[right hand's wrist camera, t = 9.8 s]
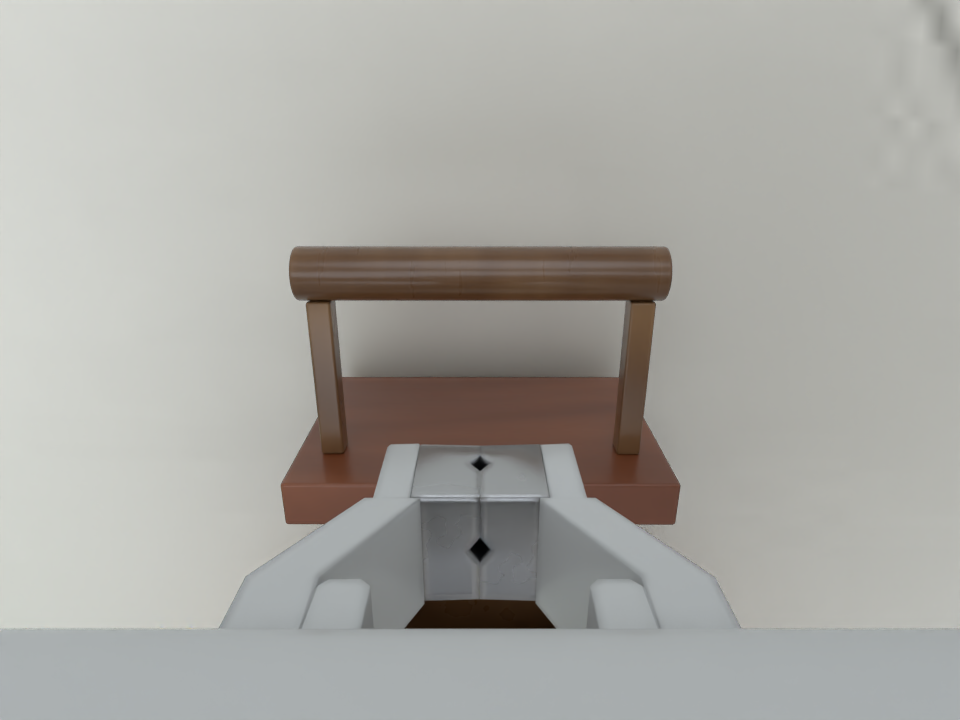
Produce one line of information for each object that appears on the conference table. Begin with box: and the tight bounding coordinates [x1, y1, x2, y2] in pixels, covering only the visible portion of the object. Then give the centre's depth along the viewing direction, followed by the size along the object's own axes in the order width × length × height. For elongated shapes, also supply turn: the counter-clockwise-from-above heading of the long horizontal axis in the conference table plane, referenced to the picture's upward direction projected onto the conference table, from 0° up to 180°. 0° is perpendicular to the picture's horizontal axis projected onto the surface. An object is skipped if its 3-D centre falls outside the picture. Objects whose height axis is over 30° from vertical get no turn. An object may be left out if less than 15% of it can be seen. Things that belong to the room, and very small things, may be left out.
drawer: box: [281, 246, 680, 629], centre depth 20 cm, size 21×10×7 cm, turn 0°
